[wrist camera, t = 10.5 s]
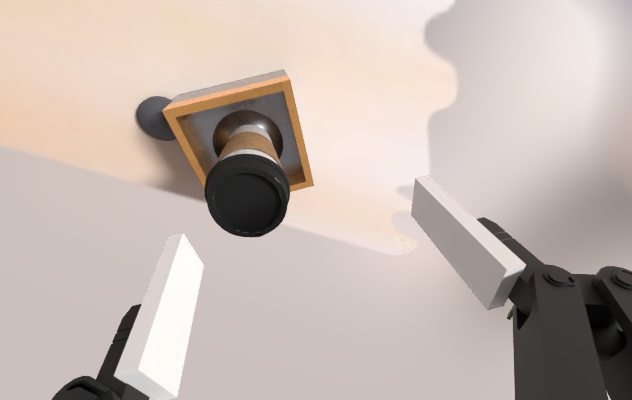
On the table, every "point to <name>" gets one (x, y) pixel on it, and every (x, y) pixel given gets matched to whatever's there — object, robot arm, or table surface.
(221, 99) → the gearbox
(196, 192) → the table surface
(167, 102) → the disc
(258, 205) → the coffee cup
